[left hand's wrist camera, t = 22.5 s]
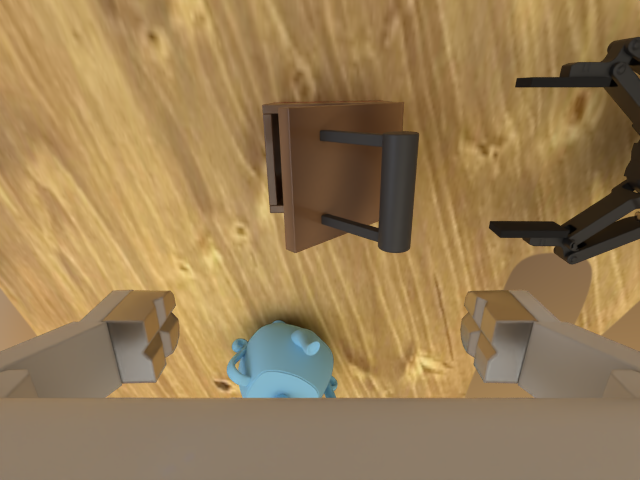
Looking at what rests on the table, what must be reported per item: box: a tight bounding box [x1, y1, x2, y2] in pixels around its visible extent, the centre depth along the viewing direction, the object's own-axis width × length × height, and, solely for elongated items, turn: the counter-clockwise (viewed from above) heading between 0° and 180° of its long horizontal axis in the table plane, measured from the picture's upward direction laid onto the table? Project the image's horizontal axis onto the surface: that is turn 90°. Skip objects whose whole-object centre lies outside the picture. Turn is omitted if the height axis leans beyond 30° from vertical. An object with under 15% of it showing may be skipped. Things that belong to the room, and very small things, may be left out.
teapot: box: [227, 320, 337, 398], centre depth 47 cm, size 13×14×11 cm
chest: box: [262, 101, 390, 213], centre depth 38 cm, size 12×10×9 cm
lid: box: [278, 102, 419, 253], centre depth 27 cm, size 13×10×8 cm
